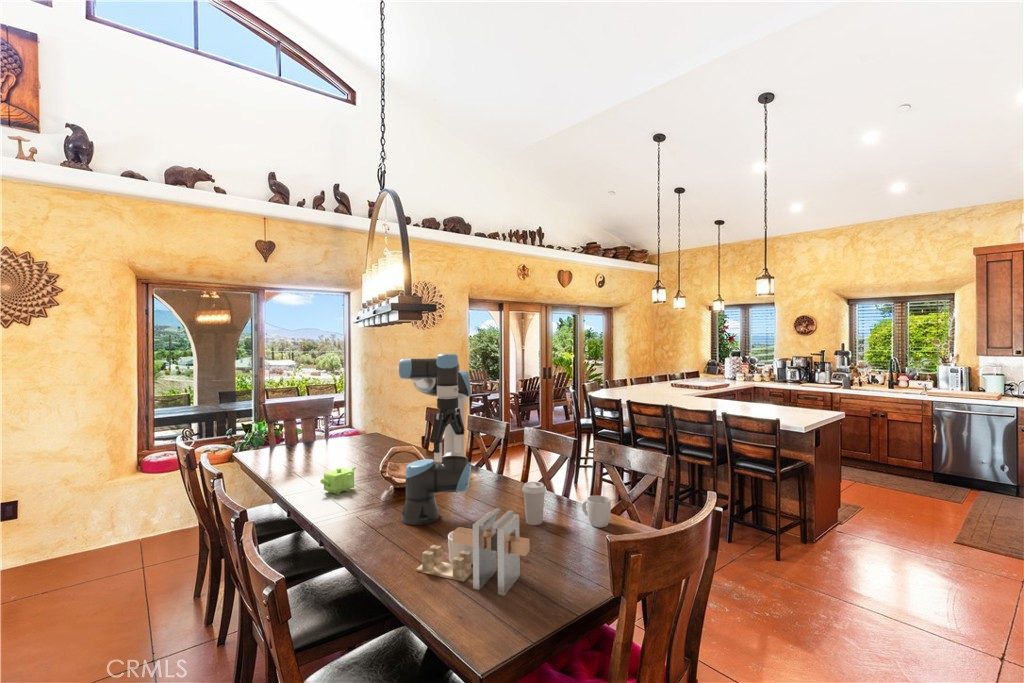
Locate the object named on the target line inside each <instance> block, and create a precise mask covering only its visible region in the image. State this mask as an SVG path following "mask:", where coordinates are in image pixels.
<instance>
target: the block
mask: <svg viewBox="0 0 1024 683" xmlns="http://www.w3.org/2000/svg"><path fill="white" fill-rule="evenodd" d="M453 543H457V544H463V545H468V546H473V528H467V527H462V526H461V527H460V526H458V527H456V528H455V529H453ZM530 544H531V542H530V538H527V537H521V536H519V537H516V536H510V535H508V553H511V554H517V555H520V556H524V557H526V556H527V555H528V554H529V552H530V551H531V550H530ZM484 549H490V550H493V551H496V552H498V539H497V532H496V533H492V532H486V530H485V531H484Z"/></svg>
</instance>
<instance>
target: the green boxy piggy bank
mask: <svg viewBox="0 0 1024 683" xmlns="http://www.w3.org/2000/svg"><path fill="white" fill-rule="evenodd" d="M357 468H358V466H357V465H356V466H354V467H352V468H351V469H348V468H345V467H342V468H341V467H338V468H336V469H334V470H330V471H327V472H323V478H322V479H320V484H322V485H323V490H324V491H326V492H328V494H331V493H333V494H334V495H336V496H338V495H339V496H340V494H341V492H345V493H349V492H350V491H351V490H350V489H354V488H355V470H356V469H357Z"/></svg>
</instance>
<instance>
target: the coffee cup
mask: <svg viewBox="0 0 1024 683" xmlns="http://www.w3.org/2000/svg"><path fill="white" fill-rule="evenodd" d="M521 490H522V492H523V501H524V512H525V513H524V514H525V522H526V524H528V525H531V526H539V525H542V524H543V522H544V521H543V519H544V509H545V508H544V507H545V506H544V504H545V495H546V493H545V492H546V491H547V488H546V486H545V484H544V483H543V482H541V481H540V482H539V481H528V482H527V481H526V482H525V483H523V486H522V489H521Z"/></svg>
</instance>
